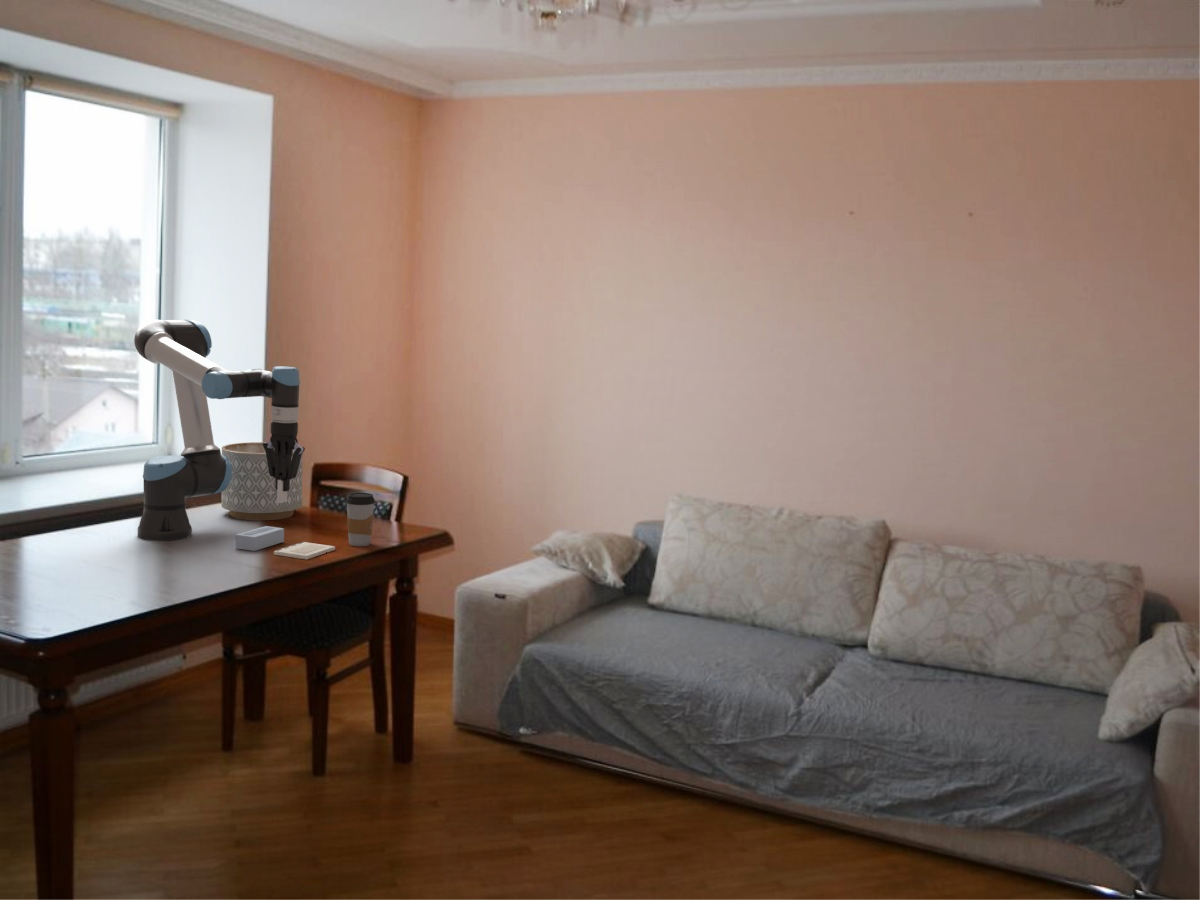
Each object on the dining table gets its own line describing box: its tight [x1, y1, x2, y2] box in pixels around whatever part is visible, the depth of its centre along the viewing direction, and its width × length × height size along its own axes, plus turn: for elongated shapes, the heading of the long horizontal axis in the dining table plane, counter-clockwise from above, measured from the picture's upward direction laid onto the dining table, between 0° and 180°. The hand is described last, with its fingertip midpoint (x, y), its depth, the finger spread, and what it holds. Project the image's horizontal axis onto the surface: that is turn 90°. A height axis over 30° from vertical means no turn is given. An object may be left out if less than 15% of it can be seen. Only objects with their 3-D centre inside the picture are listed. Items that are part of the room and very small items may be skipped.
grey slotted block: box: [235, 525, 285, 552], centre depth 333 cm, size 6×14×4 cm, turn 160°
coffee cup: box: [345, 492, 376, 547], centre depth 340 cm, size 8×8×15 cm
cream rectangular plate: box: [273, 541, 336, 560], centre depth 328 cm, size 11×14×1 cm
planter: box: [221, 441, 304, 521], centre depth 375 cm, size 26×26×22 cm
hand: (282, 501), depth 329 cm, fingers closed
